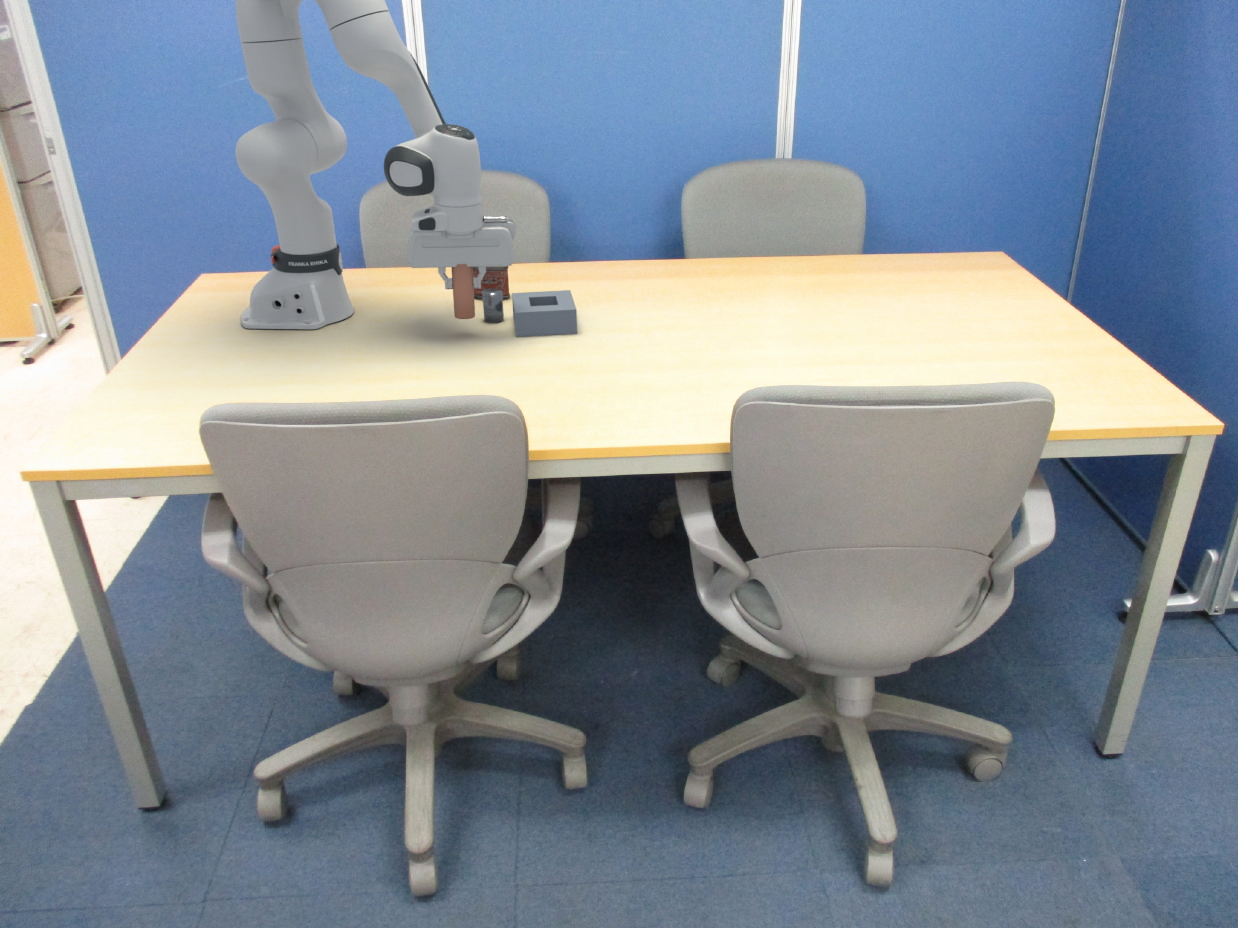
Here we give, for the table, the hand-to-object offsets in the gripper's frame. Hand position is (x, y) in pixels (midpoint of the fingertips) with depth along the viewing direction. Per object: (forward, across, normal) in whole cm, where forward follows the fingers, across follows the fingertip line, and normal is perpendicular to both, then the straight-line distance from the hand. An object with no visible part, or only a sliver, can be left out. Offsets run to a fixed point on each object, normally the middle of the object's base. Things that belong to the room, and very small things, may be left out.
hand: (463, 288), depth 191 cm
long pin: (+6, 0, 0) cm, 6 cm away
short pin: (+10, -6, -8) cm, 13 cm away
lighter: (+10, -6, -22) cm, 24 cm away
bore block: (+9, -16, -3) cm, 19 cm away
